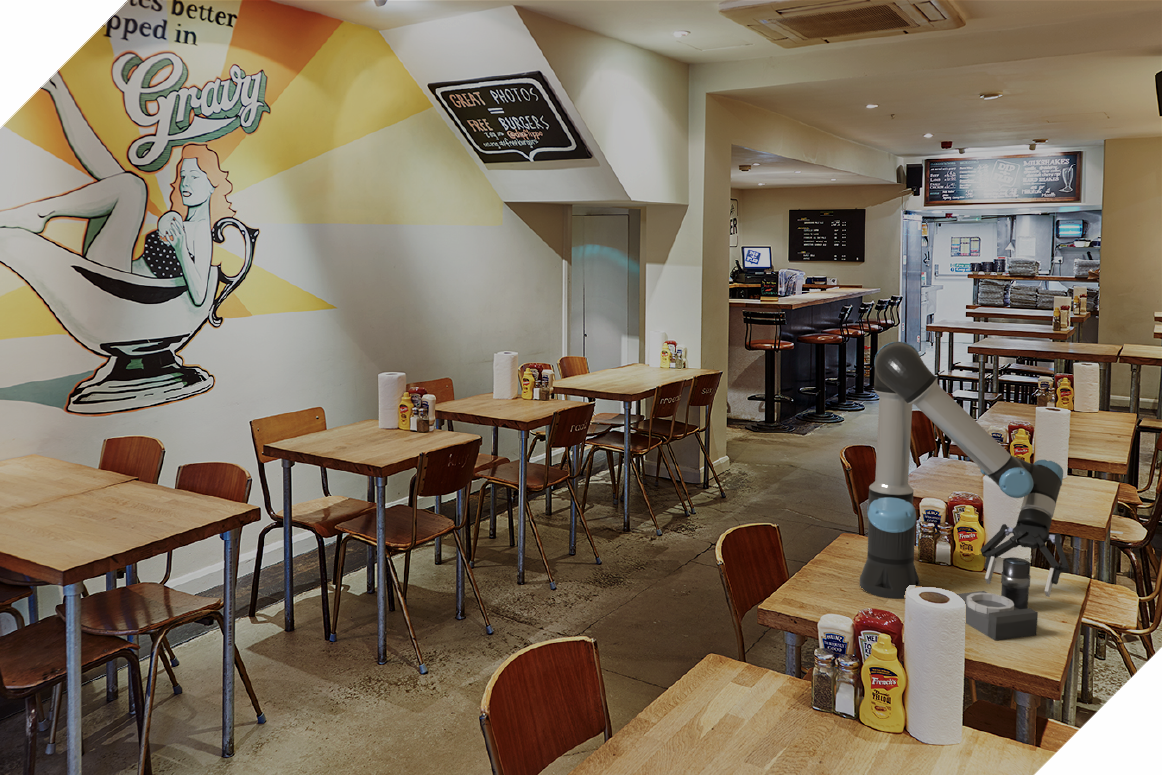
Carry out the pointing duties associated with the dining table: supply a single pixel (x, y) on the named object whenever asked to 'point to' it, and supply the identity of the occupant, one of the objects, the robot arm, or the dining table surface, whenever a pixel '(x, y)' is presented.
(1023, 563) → the lens
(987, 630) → the camera body
